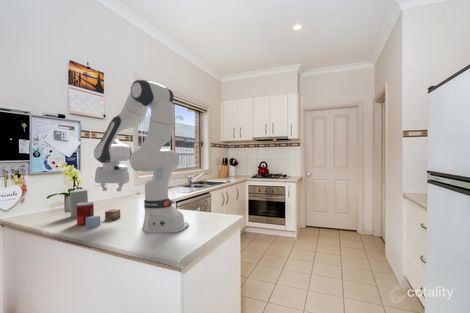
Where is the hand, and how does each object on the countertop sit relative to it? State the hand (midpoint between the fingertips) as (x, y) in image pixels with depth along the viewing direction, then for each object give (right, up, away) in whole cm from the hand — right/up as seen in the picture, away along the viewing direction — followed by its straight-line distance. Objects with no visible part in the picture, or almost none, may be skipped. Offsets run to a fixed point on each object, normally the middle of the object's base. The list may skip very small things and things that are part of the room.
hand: (111, 191), depth 132 cm
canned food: (-10, -17, -8) cm, 21 cm away
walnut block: (+1, -16, 0) cm, 16 cm away
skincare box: (-24, -17, +8) cm, 31 cm away
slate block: (-2, -16, -14) cm, 21 cm away
